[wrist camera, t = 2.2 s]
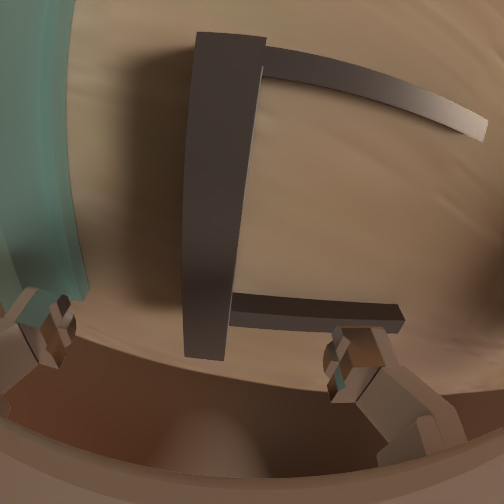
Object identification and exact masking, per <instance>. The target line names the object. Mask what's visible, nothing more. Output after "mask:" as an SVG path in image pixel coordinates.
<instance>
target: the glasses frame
mask: <svg viewBox="0 0 504 504" xmlns="http://www.w3.org/2000/svg"><path fill="white" fill-rule="evenodd" d="M265 45H266V37H258V36H250V35H240V34H229V33H214V32H197V35H196V42H195V50H194V58H193V66H192V75H191V84H190V94H189V105H188V116H187V129H186V143H185V160H184V180H183V207H182V307H183V335H184V355H185V357H191V358H199V359H208V360H218V361H224V355H225V346H226V343H227V334H228V326H236V327H247V328H259V329H273V330H288V331H306V332H329V333H333V331H334V329H335V328H336V327H337V326H366V327H367V326H382V327H383V328H384V329H385V331H386V333H398V332H399V330H400V329H401V327H402V325H403V324H404V322H405V319H404V317H403V314H402V312H401V310H400V308H399V306H398V305H395V304H374V303H356V302H339V301H324V300H310V299H297V298H285V297H273V296H262V295H251V294H241V293H233V285H234V276H235V268H236V256H237V246H238V238H239V230H240V222H241V214H242V207H243V205H244V199H245V191H246V184H247V177H248V169H249V162H250V155H251V148H252V141H253V134H254V126H255V119H256V113H257V106H258V99H259V92H260V85H261V79H262V76H267V77H274V78H280V79H287V80H292V81H298V82H303V83H308V84H313V85H318V86H323V87H327V88H331V89H336V90H340V91H344V92H348V93H351V94H355V95H359V96H363V97H366V98H370V99H373V100H376V101H380V102H383V103H386V104H389V105H392V106H395V107H398V108H401V109H404V110H407V111H410V112H412V113H415V114H418V115H421V116H423V117H426V118H428V119H431V120H433V121H436V122H438V123H441V124H443V125H446V126H448V127H450V128H453V129H455V130H457V131H459V132H462V133H464V134H466V135H468V136H470V137H472V138H475V139H477V140H479V141H481V142H483V140H484V137H485V133H486V129H487V125H488V120H486V119H485V118H483V117H481V116H479V115H477V114H476V113H474V112H472V111H470V110H468V109H466V108H464V107H462V106H460V105H458V104H456V103H454V102H452V101H450V100H448V99H446V98H443V97H441V96H439V95H437V94H434V93H432V92H430V91H428V90H425V89H423V88H420V87H418V86H415V85H413V84H410V83H408V82H405V81H403V80H400V79H397V78H394V77H392V76H389V75H386V74H383V73H380V72H377V71H374V70H370V69H367V68H364V67H361V66H357V65H354V64H350V63H347V62H343V61H339V60H335V59H331V58H327V57H323V56H318V55H314V54H309V53H304V52H299V51H294V50H288V49H282V48H276V47H269V46H265Z"/></svg>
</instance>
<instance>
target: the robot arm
mask: <svg viewBox="0 0 504 504" xmlns="http://www.w3.org/2000/svg"><path fill="white" fill-rule="evenodd" d="M70 305H71V304H70V301H69V298H68V296H66V295H64V294H60V293H56V292H52V291H48V290H44V289H39V288H35V287H31V286H29V287H27V288H25V289H24V291H23V292H22V293H21V295H20V296H19V297H18V298H17V300H16V301H15V302H14V304H13V305H12V307H11V308H10V309H9V311H8V312H7V313H6V315H5V316H4V318H0V504H504V427H502V428H500V429H497V430H495V431H493V432H491V433H488V434H486V435H484V436H481V437H479V438H476V439H474V440H471V441H469V442H468V441H467V438H466V436H465V433H464V430H463V428H462V425H461V423H460V420H459V417H458V415H457V412H456V410H455V408H454V407H453V406H452V405H451V404H449V403H448V402H447V401H446V400H445V399H443V398H442V397H441V396H440V395H439V394H437V393H436V392H435V391H434V390H433V389H432V388H430V387H429V386H428V385H427V384H426V383H424V382H423V381H422V380H421V379H420V378H418V377H417V376H416V375H415V374H414V373H412V372H411V371H410V370H409V369H408V368H406V367H405V366H400V364H399V361H398V359H397V356H396V354H395V352H394V349H393V347H392V345H391V342H390V340H389V338H388V335H387V333H386V331H385V329H384V328H383V327H382V326H367V327H366V326H337V327H336V328H335V329H334V331H333V333H332V338H333V341H332V342H330V343H329V344H327V346H326V349H325V351H324V357H323V368H324V373H325V374H326V375H327V376H328V377H329V378H330V381H329V382H328V384H327V388H328V392H329V398H330V402H331V403H349V402H356V405H357V406H358V407H359V408H360V409H361V410H362V412H363V413H364V414H365V415H366V416H367V418H368V419H369V420H370V421H371V422H372V424H373V425H374V426H375V427H376V428H377V429H378V431H379V432H380V433H381V434H382V435H383V437H384V438H385V439H386V440H387V441H388V443H389V445H387V446H386V447H385V448H384V449H382V450H381V451H380V452H379V453H378V454H377V460H378V464H379V468H374V469H368V470H362V471H356V472H349V473H342V474H334V475H325V476H314V477H301V478H276V479H275V478H274V479H253V478H250V479H249V478H229V477H215V476H203V475H193V474H186V473H179V472H172V471H166V470H160V469H155V468H150V467H144V466H140V465H135V464H131V463H127V462H122V461H118V460H114V459H111V458H107V457H104V456H100V455H97V454H93V453H90V452H87V451H84V450H80V449H78V448H74V447H72V446H69V445H66V444H63V443H61V442H58V441H55V440H52V439H50V438H48V437H45V436H43V435H40V434H38V433H36V432H33V431H31V430H29V429H27V428H24V427H22V426H20V425H18V424H16V423H14V422H12V421H10V420H8V419H7V417H8V414H9V411H10V409H11V408H10V405H9V403H8V402H7V401H6V400H5V399H4V397H3V396H2V395H3V394H4V393H5V392H7V391H8V390H9V389H10V388H11V387H12V386H14V385H15V384H16V383H17V382H18V381H20V380H21V379H22V378H23V377H24V376H25V375H27V374H28V373H29V372H30V371H31V370H33V369H34V368H35V367H36V366H37V365H38V363H39V364H43V365H46V366H50V367H54V368H57V369H59V368H60V366H61V364H62V362H63V360H64V357H65V356H66V349H65V347H66V346H68V345H69V344H70V343H72V341H73V339H74V337H75V332H76V320H75V317H74V315H73V313H72V312H71V311H70V310H69V309H68V308H69V307H70Z"/></svg>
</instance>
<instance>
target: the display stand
mask: <svg viewBox="0 0 504 504" xmlns="http://www.w3.org/2000/svg"><path fill="white" fill-rule="evenodd" d="M74 3H75V0H0V302H1V304H2V306H3V308H4V310H5V313H7V312H8V311H9V309H10V308H11V307H12V305H13V304H14V302H15V301H16V300H17V298H18V297H19V296H20V295H21V293H22V292H23V291H24V289H25V288H27V287H29V286H31V287H35V288H39V289H44V290H48V291H52V292H56V293H60V294H64V295H66V296H68V298H69V301H70V302H71V300H72V299H73V300H78V301H83V300H84V298H85V296H86V294H87V292H88V291H89V285H88V281H87V276H86V272H85V268H84V263H83V259H82V254H81V249H80V244H79V239H78V233H77V228H76V222H75V215H74V209H73V202H72V194H71V186H70V176H69V166H68V153H67V135H66V77H67V60H68V48H69V38H70V30H71V22H72V15H73V9H74Z"/></svg>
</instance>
